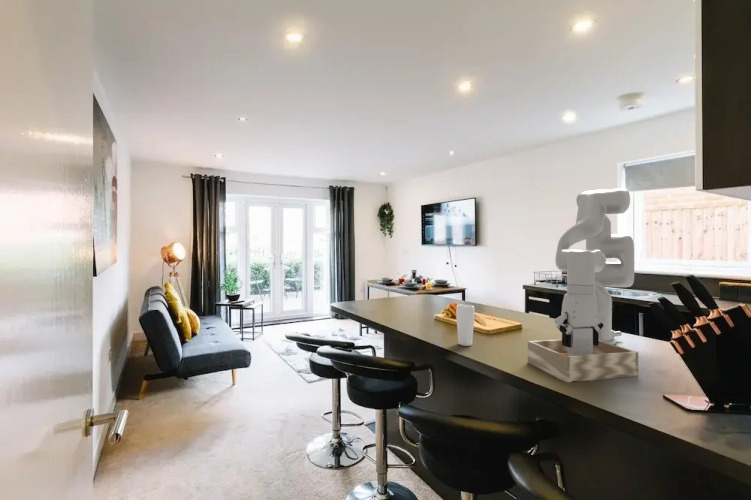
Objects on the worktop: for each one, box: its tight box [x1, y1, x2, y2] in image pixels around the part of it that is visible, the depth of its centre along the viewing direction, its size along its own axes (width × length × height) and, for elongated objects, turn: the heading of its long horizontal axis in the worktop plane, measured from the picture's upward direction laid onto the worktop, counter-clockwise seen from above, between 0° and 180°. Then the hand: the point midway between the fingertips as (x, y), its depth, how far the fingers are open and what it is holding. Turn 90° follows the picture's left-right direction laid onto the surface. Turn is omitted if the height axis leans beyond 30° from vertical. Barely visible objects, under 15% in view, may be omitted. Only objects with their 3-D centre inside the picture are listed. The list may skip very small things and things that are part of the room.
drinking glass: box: [455, 303, 475, 347], centre depth 145 cm, size 7×7×15 cm
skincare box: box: [567, 327, 593, 356], centre depth 117 cm, size 6×4×12 cm
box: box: [527, 338, 639, 383], centre depth 117 cm, size 24×18×7 cm
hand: (580, 345), depth 117 cm, fingers open, 9 cm apart
